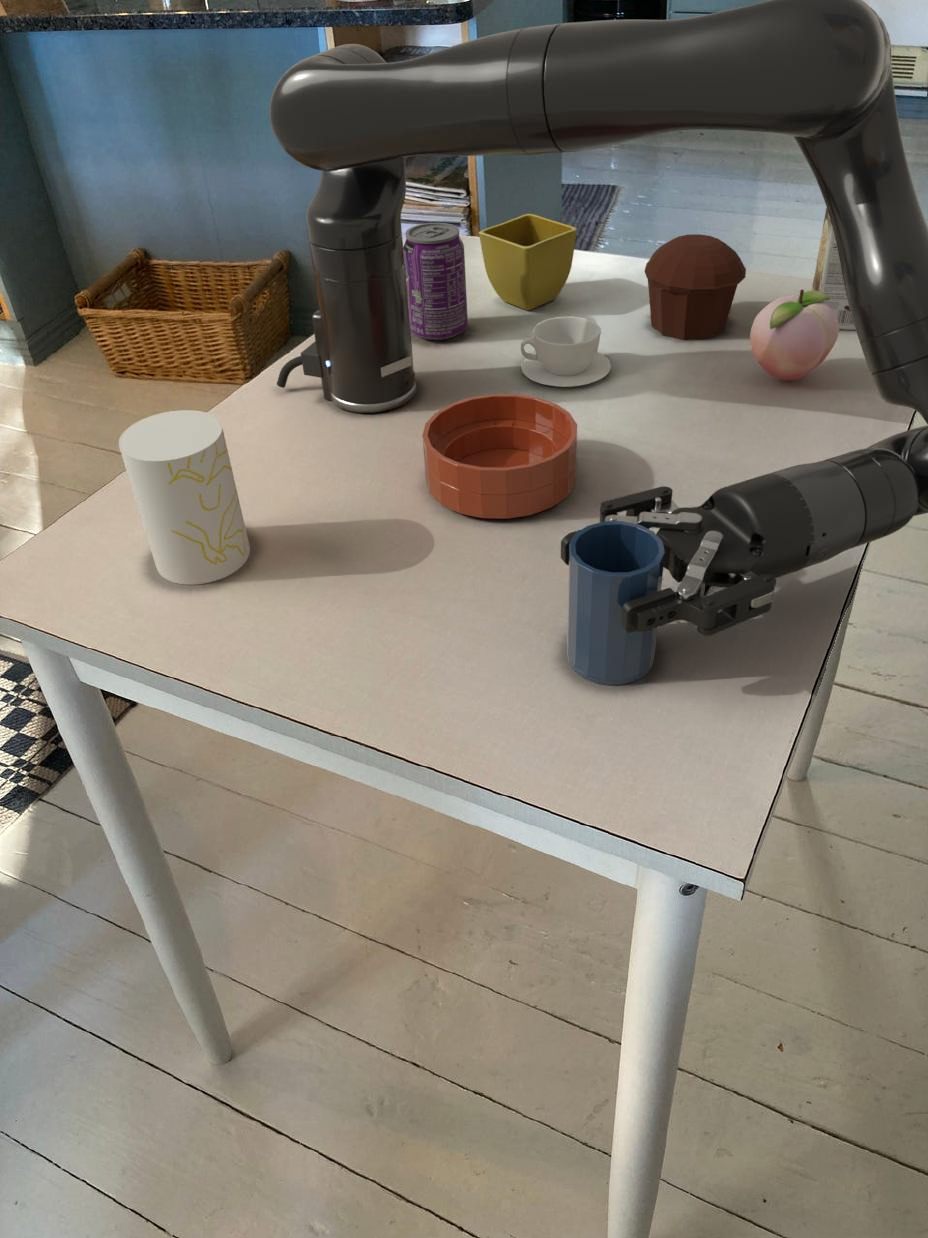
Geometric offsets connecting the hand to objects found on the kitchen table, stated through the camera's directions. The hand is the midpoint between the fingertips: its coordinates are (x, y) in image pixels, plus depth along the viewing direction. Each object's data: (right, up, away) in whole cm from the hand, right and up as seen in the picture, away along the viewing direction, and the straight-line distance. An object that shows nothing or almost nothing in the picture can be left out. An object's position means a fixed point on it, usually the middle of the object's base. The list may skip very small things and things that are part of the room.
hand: (592, 584), depth 69 cm
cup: (-32, +3, +18) cm, 37 cm away
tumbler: (+2, -5, +5) cm, 8 cm away
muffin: (+18, +33, +50) cm, 62 cm away
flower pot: (-1, +38, +58) cm, 69 cm away
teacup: (+2, +25, +42) cm, 49 cm away
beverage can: (-12, +32, +52) cm, 62 cm away
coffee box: (+36, +34, +50) cm, 70 cm away
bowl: (-5, +11, +25) cm, 28 cm away
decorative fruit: (+26, +23, +38) cm, 51 cm away
